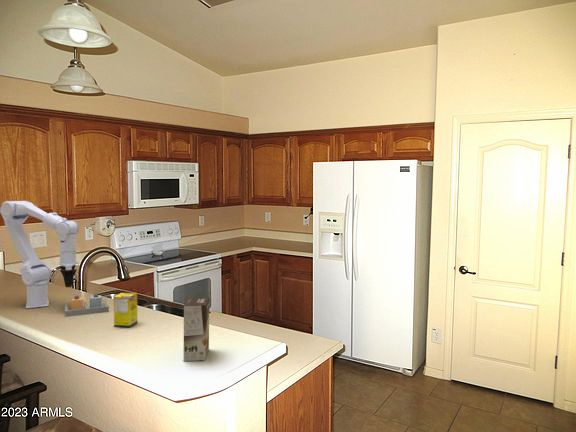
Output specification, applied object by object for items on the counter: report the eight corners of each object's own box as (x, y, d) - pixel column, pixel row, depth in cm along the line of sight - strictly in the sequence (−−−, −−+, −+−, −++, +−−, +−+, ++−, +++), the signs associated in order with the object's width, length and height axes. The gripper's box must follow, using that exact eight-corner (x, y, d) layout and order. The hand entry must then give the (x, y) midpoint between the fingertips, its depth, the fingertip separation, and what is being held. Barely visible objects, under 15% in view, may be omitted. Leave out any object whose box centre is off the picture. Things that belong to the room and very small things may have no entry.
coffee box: (206, 361, 119) (206, 305, 118) (183, 361, 118) (183, 305, 117) (209, 349, 128) (209, 296, 127) (188, 349, 127) (188, 297, 126)
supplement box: (137, 322, 152) (137, 292, 151) (129, 328, 146) (129, 297, 145) (122, 321, 152) (121, 292, 152) (113, 327, 147) (113, 296, 146)
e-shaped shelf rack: (64, 309, 167) (64, 304, 167) (105, 304, 174) (105, 300, 174) (65, 316, 158) (65, 311, 157) (108, 311, 165) (108, 306, 165)
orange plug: (71, 310, 166) (70, 295, 165) (82, 309, 168) (82, 294, 167) (71, 313, 162) (71, 297, 162) (82, 311, 164) (82, 296, 164)
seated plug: (90, 308, 169) (89, 293, 169) (100, 307, 171) (100, 292, 170) (90, 311, 165) (90, 296, 165) (101, 309, 167) (101, 294, 167)
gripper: (80, 253, 163) (80, 287, 164) (78, 248, 176) (78, 280, 176) (59, 254, 160) (60, 289, 160) (58, 249, 172) (59, 282, 173)
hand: (68, 285), depth 168 cm, fingers open, 7 cm apart
